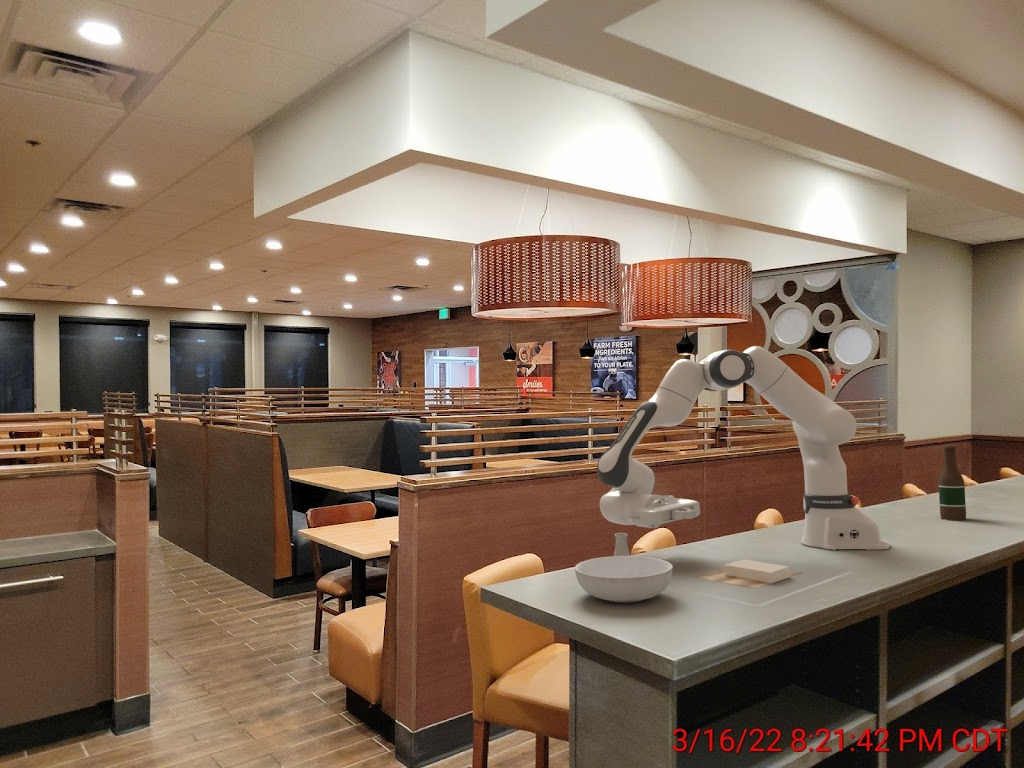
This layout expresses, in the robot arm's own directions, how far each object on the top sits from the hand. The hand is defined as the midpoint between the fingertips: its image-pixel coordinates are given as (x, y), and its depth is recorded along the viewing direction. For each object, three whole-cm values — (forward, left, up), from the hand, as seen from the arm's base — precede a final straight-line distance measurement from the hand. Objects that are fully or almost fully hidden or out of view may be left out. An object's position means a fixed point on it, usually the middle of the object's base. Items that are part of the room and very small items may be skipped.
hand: (693, 514), depth 187 cm
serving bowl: (+14, +33, -13) cm, 38 cm away
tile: (-9, +8, -11) cm, 17 cm away
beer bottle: (-79, -80, -13) cm, 114 cm away
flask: (+17, +12, -13) cm, 25 cm away
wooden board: (-12, +10, -13) cm, 21 cm away
